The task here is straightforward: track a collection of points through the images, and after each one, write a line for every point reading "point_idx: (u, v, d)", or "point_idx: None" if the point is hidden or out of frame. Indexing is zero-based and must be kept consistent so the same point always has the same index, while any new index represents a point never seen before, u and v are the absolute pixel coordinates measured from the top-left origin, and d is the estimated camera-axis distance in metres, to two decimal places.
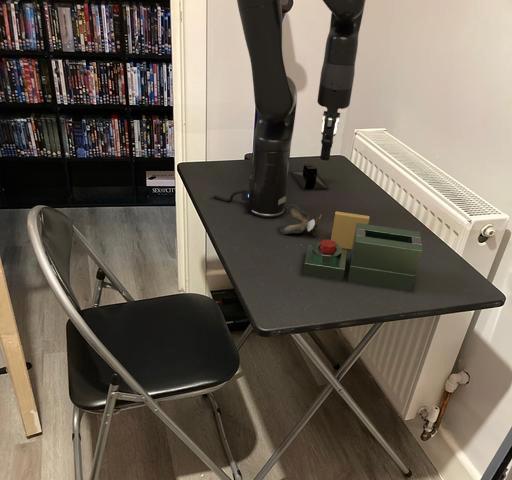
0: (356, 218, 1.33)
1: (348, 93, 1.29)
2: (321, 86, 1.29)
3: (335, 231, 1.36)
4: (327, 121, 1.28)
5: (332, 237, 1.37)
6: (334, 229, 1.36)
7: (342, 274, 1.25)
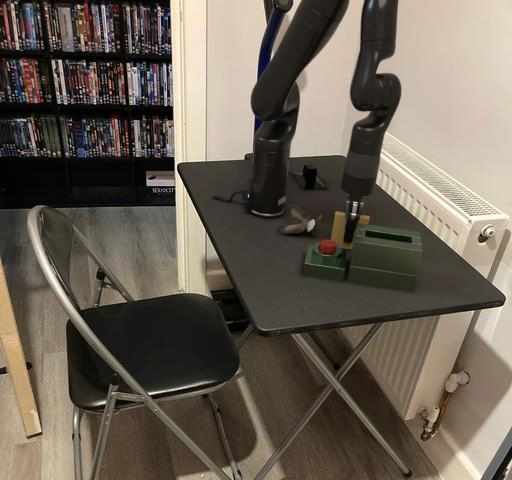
0: None
1: (373, 181, 1.26)
2: (346, 174, 1.26)
3: (335, 231, 1.36)
4: (350, 217, 1.27)
5: (332, 237, 1.37)
6: (334, 229, 1.36)
7: (342, 274, 1.25)
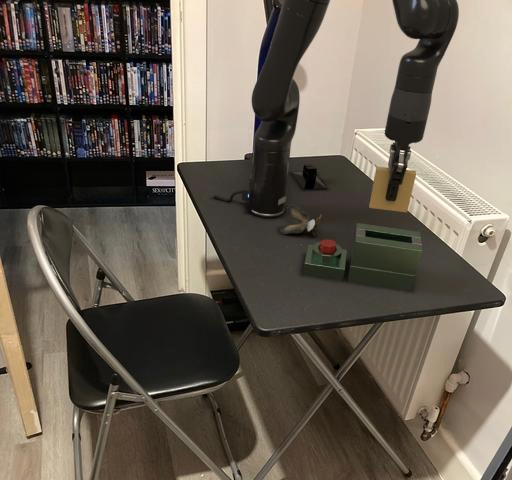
0: None
1: (423, 125, 1.09)
2: (391, 117, 1.09)
3: (376, 190, 1.19)
4: (397, 168, 1.10)
5: (372, 197, 1.20)
6: (375, 187, 1.19)
7: (342, 274, 1.25)
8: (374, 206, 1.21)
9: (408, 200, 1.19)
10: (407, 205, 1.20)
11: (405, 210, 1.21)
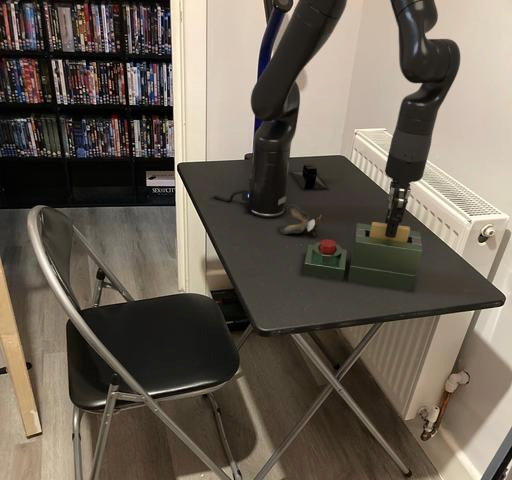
0: None
1: (423, 165, 1.10)
2: (392, 156, 1.11)
3: None
4: (397, 203, 1.11)
5: None
6: None
7: (342, 274, 1.25)
8: None
9: None
10: None
11: None
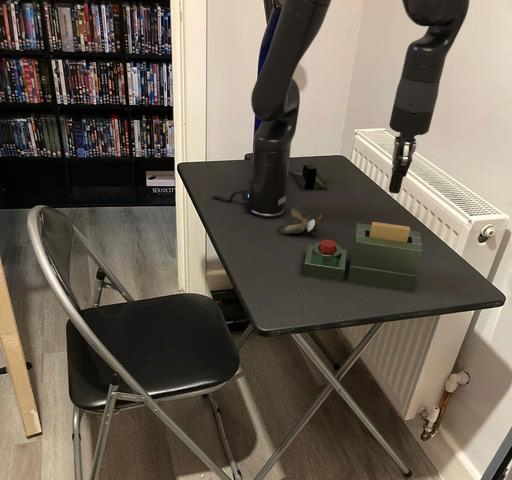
0: (395, 229, 1.21)
1: (430, 116, 1.05)
2: (397, 107, 1.05)
3: None
4: (401, 162, 1.07)
5: None
6: None
7: (342, 274, 1.25)
8: None
9: None
10: None
11: None
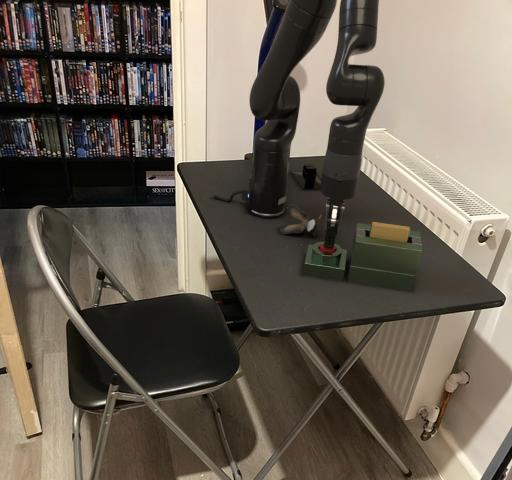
0: (395, 229, 1.21)
1: (354, 183, 1.15)
2: (324, 175, 1.15)
3: None
4: (330, 224, 1.17)
5: None
6: None
7: (342, 274, 1.25)
8: None
9: None
10: None
11: None
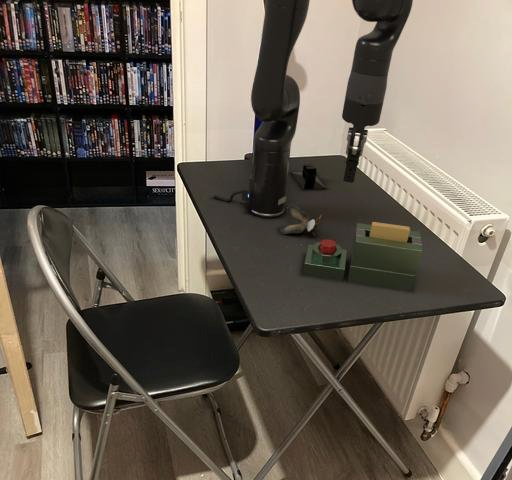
0: (395, 229, 1.21)
1: (379, 108, 1.10)
2: (347, 99, 1.10)
3: None
4: (351, 152, 1.12)
5: None
6: None
7: (342, 274, 1.25)
8: None
9: None
10: None
11: None
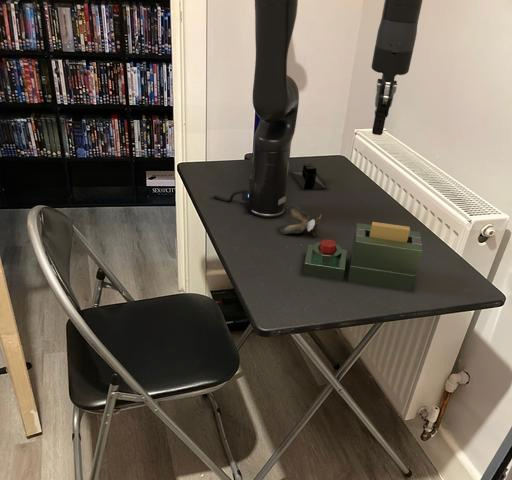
0: (395, 229, 1.21)
1: (409, 56, 1.12)
2: (378, 48, 1.12)
3: None
4: (382, 101, 1.14)
5: None
6: None
7: (342, 274, 1.25)
8: None
9: None
10: None
11: None
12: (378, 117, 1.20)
